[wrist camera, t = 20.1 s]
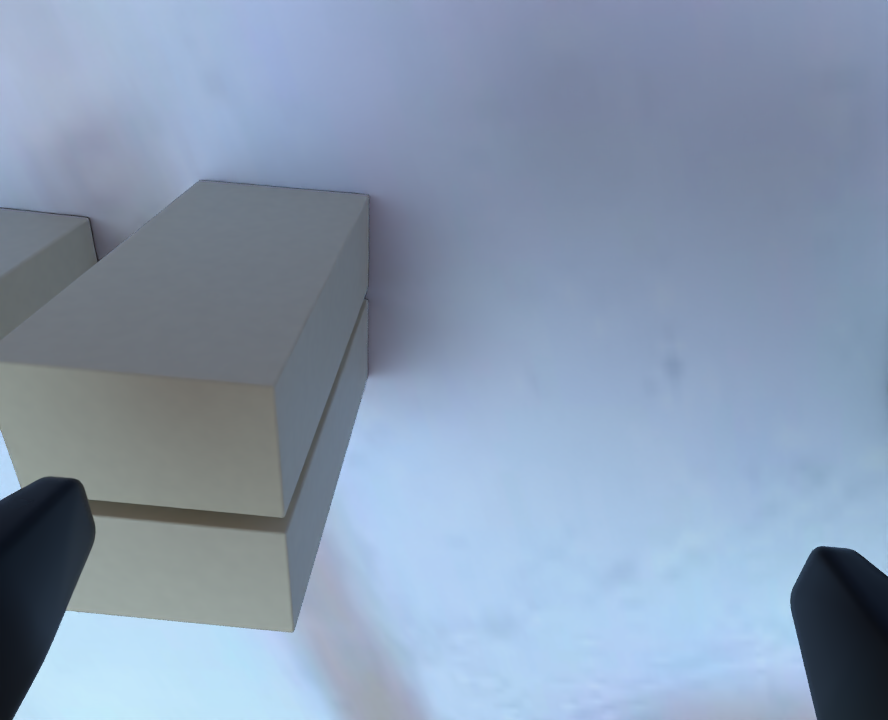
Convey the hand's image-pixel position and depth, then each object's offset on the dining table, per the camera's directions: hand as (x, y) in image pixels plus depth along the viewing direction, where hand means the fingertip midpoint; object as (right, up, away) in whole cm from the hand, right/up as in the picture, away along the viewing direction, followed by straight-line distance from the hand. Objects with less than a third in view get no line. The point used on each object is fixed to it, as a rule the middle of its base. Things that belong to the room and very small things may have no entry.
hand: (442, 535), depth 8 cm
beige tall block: (-5, +5, +13) cm, 14 cm away
